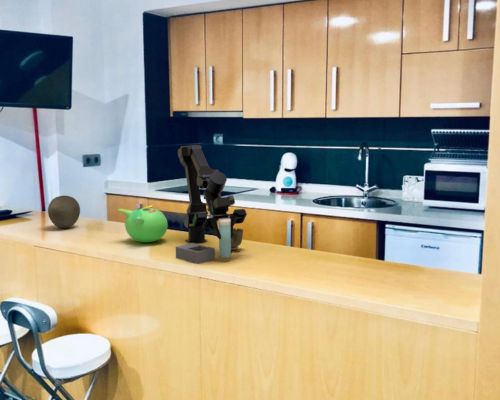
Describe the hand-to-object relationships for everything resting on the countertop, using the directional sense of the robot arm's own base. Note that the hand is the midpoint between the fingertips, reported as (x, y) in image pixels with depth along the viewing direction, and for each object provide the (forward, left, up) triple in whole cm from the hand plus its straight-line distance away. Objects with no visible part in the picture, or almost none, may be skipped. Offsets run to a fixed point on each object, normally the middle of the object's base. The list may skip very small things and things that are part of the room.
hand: (226, 238), depth 183 cm
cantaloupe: (-96, -10, -9) cm, 97 cm away
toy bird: (-46, -1, -9) cm, 47 cm away
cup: (-10, +13, -9) cm, 19 cm away
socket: (-11, -4, -8) cm, 15 cm away
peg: (-1, +1, -7) cm, 7 cm away
